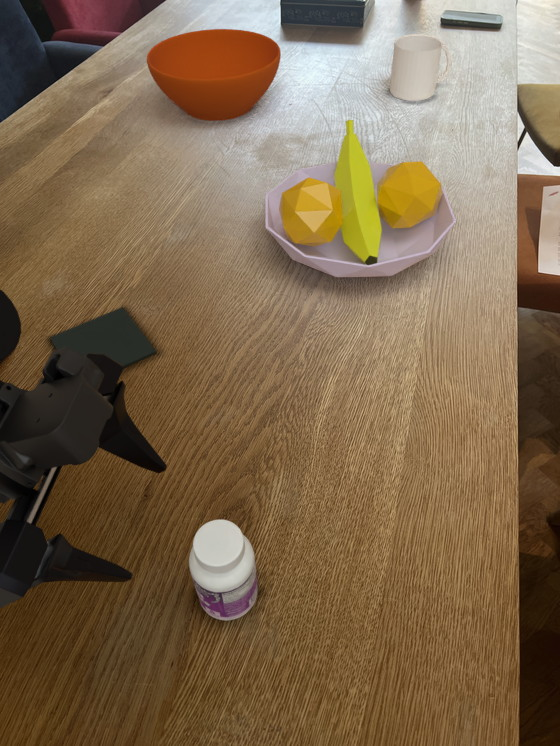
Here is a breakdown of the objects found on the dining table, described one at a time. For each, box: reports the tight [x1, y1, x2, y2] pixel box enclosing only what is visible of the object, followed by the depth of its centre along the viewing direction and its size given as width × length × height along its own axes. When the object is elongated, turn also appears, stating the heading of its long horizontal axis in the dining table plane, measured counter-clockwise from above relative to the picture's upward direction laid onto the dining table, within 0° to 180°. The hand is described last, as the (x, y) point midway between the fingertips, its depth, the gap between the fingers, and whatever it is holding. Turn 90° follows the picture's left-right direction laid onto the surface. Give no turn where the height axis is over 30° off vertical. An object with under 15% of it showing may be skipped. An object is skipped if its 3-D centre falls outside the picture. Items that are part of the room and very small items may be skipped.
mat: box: [49, 306, 157, 369], centre depth 76 cm, size 10×10×1 cm
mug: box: [389, 33, 452, 102], centre depth 121 cm, size 12×9×9 cm
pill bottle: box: [188, 518, 258, 621], centre depth 51 cm, size 5×5×10 cm
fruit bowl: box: [264, 119, 457, 278], centre depth 86 cm, size 28×27×11 cm
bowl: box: [146, 28, 282, 122], centre depth 119 cm, size 25×25×10 cm
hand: (147, 520), depth 47 cm, fingers open, 9 cm apart
